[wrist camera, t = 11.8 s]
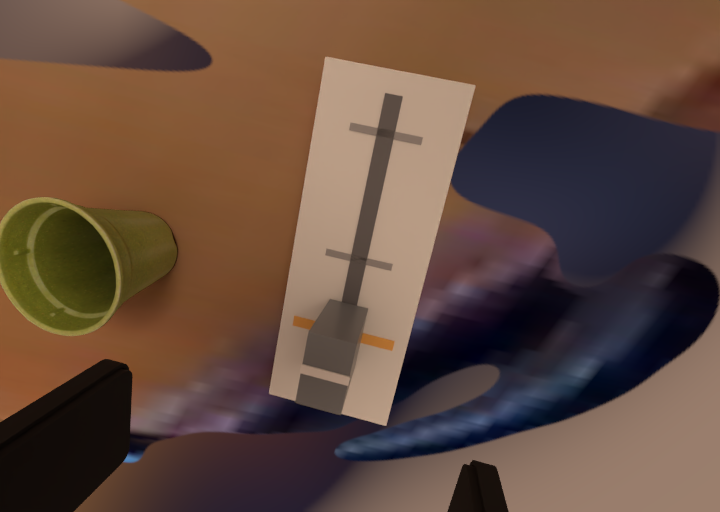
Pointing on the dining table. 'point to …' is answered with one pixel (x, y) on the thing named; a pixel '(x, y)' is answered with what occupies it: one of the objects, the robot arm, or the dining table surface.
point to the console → (370, 218)
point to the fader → (331, 356)
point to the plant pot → (79, 261)
